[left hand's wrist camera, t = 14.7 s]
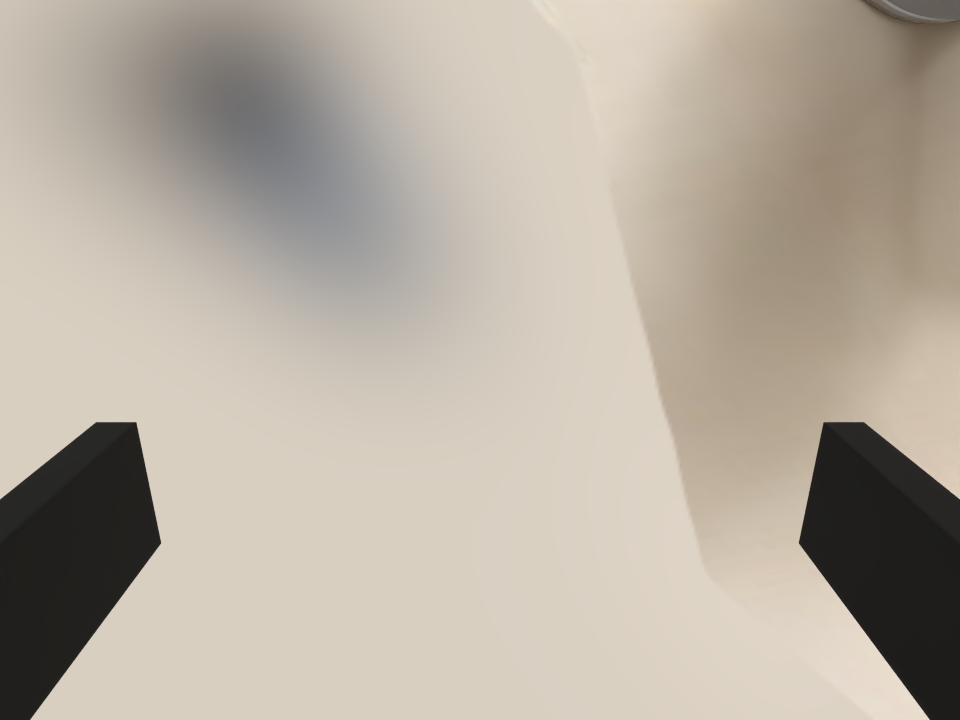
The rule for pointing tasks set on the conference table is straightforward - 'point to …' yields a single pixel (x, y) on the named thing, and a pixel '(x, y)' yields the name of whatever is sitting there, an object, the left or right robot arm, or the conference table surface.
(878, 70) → the conference table surface
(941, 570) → the left robot arm
